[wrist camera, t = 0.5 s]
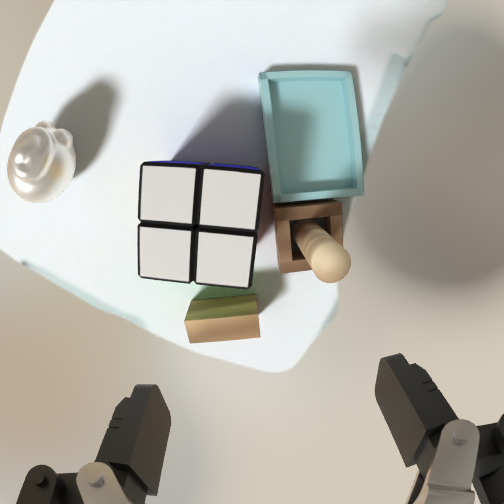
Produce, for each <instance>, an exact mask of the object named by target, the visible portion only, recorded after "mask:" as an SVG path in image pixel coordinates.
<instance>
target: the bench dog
mask: <svg viewBox="0 0 504 504" xmlns="http://www.w3.org/2000/svg"><path fill="white" fill-rule="evenodd" d="M184 322H185V326H186V330H187V334H188V338H189V342H190V343H203V342H216V341H228V340H239V339H249V338H258V337H260V328H259V317H258V308H257V300H256V294H251V295H242V296H233V297H223V298H213V299H203V300H192V301H191V303H190V306H189V308H188V311H187V314H186V317H185V320H184Z"/></svg>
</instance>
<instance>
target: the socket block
mask: <svg viewBox="0 0 504 504" xmlns="http://www.w3.org/2000/svg"><path fill="white" fill-rule="evenodd" d="M273 214H274V225H275V235H276V246H277V257H278V265H279V268H280V272H281V274H282V273H290V272H298V271H307V270H312V268H311V267H310V265H309V263H308V262H307V260H306V258H305V257H304V255H303V253H302V252H301V251H295V252H292V250H291V237H290V225H289V220H298V219H308V218H318V217H323V218H324V230H325V231H326V232H327V233H328V234H329V235H330V236H331V237H332V238H333V239H335V240H336V241H337V242H338V243H339V244H340V245H341V246H342V247H343V230H342V206H341V203H340V202H338V201H336V200H334V199H329V200H317V201H306V202H296V203H286V204H276V205H273Z"/></svg>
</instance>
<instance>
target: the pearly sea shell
mask: <svg viewBox="0 0 504 504" xmlns="http://www.w3.org/2000/svg"><path fill="white" fill-rule="evenodd" d="M72 144H73V136H72V134H71V133H70V132H69V131H68V130H66V129H56V128H55V127H54V125H53V123H52V122H50V121H41V122H39V123H37V124H36V126H35V127H32V128H29V129H27V130H25V131H24V132H23V133H22V134H21V135H20V136H19V137H18V138H17V140H16V142H15V144H14V146H13V148H12V150H11V152H10V155H9V159H8V164H7V174H8V179H9V183H10V185H11V187H12V189H13V190H14V192H15V193H16V194H17V195H18V196H19V197H20V198H22V199H23V200H25V201H28V202H31V203H45V202H48V201H51V200H53V199H55V198H57V197H58V196H59V195H60V194H62V193H63V192H64V191H65V189H66V188H67V187H68V185H69V184H70V182H71V180H72V178H73V175H74V172H75V167H76V155H75V150H74V147H73V145H72Z"/></svg>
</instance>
